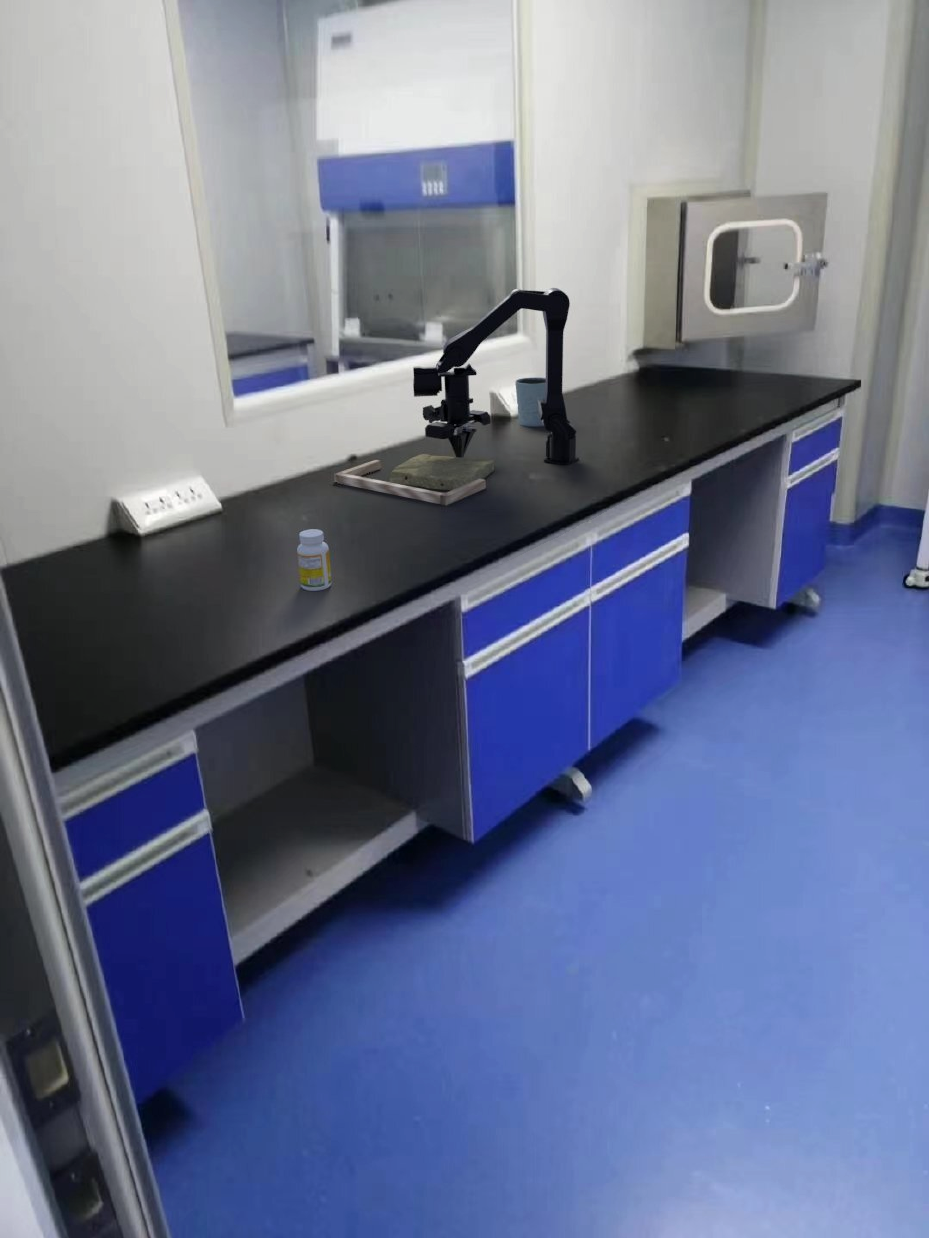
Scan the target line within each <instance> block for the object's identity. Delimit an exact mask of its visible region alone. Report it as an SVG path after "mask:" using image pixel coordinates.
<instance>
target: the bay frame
mask: <svg viewBox="0 0 929 1238" xmlns="http://www.w3.org/2000/svg"><path fill="white" fill-rule="evenodd" d="M381 464H382V463H381V460H378V459H375V460H371V461H368V462H366V463H362V464H359V465H356V466H354V467H351V468H348V469H344V470H342V471H339V472H336V473H334V474H333V477H334V478H333V479H334V483H335V482H337V483H336V484H340V485H345V486H351V487H355V488H360V489H364V490H365V489H366V490H370V491H374V492H379V493H384V494H389V495H394V496H399V497H404V498H409V499H412V500H413V499H414V500H418V501H424V502H427V503H433V504H438V505H442V506H448V505H450V504H454V503H455V502H458V501H460V500H462V499H464V498H467V497H470V496H472V495H475V494H476V493H478V492H481V491H483V490H485V489H487V488H486V485H487V484H486V483H487V482H486V479H485V478H483V479H478V480H476V481H473V482H471V483H468V484H466V485H463V486H461V487H459V488H456V489H454V490H448V491H446V492H439V491H434V490H429V489H425V488H419V487H416V486H411V485H405V484H395V483H390V481H385V480H384V481H383V480H380V479H373V478H368V477H365V476H364V475H367V473H368V474H370V473H373V472H376V471H379V470H381V469H382V466H381ZM369 472H370V473H369Z"/></svg>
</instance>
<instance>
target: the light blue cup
mask: <svg viewBox="0 0 929 1238" xmlns="http://www.w3.org/2000/svg"><path fill="white" fill-rule="evenodd" d="M545 390H546V377H523V378H519V379H518V378H517V379H515V392H516V393H515V394H516V404H517V414H518V415H517V416H518V424H519V425H520V426H522V427H529V428H530V427H533V428H536V427H537V428H538V427H544V425H543V423H542V421H541V420H540V418H539V417H538V415H537V413H538V410H539V405H538V398H542V399H543V398H544V394H545Z"/></svg>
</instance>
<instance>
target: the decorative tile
mask: <svg viewBox="0 0 929 1238" xmlns="http://www.w3.org/2000/svg"><path fill="white" fill-rule="evenodd" d="M494 466H495V464H494V460H490V459H479V458H472V457H463V458H459V457H456V456H447V455H430V454H427V453H424V454H423V453H421V454H418V455H416V456H414V457H411V458H410V459H409V458H408V460H406V461H404V462H403V463H401V464H399V465H397V466H396V467H395V468H394V469H393V470H392V471H391V473H390V478H389V482H390V483H395V484H400V485H405V486H412V487H421V488H424V489H425V488H426V489H433V490H444V491H446V490H447V491H451V490H454V489H456V488H459V487H461V486H463V485H466V484H468V483H471V482H473V481H476V480H478V479H486V477H488V476H489V475H490V474H492V473H493V472H494V471H495V467H494Z"/></svg>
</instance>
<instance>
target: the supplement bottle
mask: <svg viewBox="0 0 929 1238" xmlns="http://www.w3.org/2000/svg"><path fill="white" fill-rule="evenodd" d="M324 539H325V537H324V532H323V531H322V529H321V530H320V529H316V528H315V529H313V528H312V529H306V530H305V529H304V530H303V531H301V532H299V542H300V543H299V545H298V546H297V549H296V554H297V563H298V572H299V580H300V581H299V582H300V587H301V588H302V589H303V590H305V591H308V592H309V591H310V592H318V591H323V590H327V589H328V588H329V587H330V586H331V585H332V570H331V561H330V560H331V559H330V549H329V548H330V547H329V545H328V543H326V542H325V541H324Z"/></svg>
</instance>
